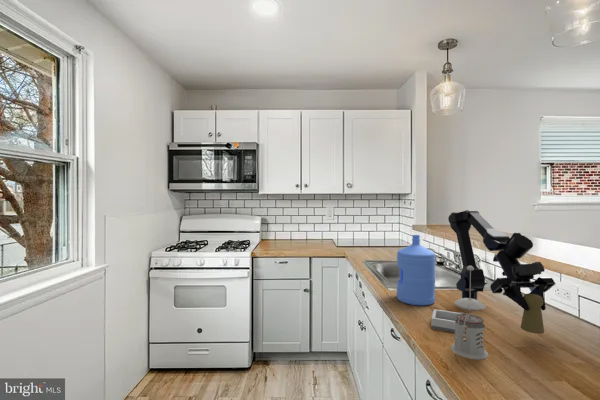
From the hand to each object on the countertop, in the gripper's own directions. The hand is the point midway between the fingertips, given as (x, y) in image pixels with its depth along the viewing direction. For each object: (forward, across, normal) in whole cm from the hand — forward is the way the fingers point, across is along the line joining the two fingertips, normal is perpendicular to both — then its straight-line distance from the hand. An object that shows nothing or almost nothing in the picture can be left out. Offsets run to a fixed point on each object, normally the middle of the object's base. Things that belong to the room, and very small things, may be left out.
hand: (536, 310), depth 101 cm
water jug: (-22, -20, +38) cm, 48 cm away
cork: (+4, 0, +6) cm, 7 cm away
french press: (+10, -24, +4) cm, 27 cm away
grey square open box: (-3, -20, +18) cm, 27 cm away
